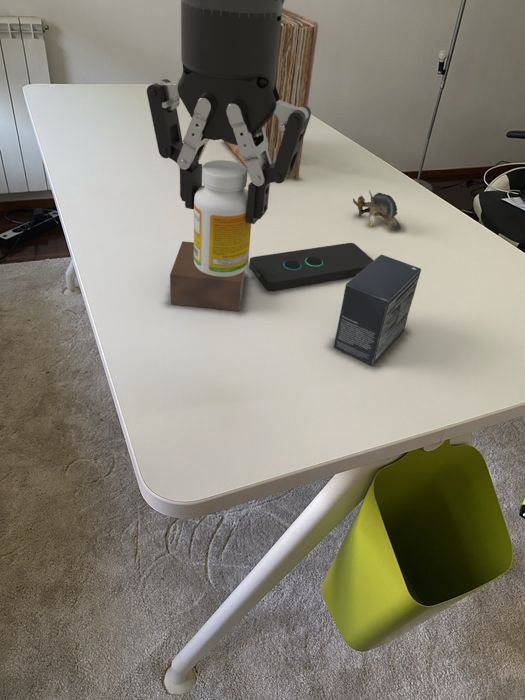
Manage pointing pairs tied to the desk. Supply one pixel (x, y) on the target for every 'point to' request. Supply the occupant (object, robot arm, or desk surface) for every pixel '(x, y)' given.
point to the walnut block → (202, 284)
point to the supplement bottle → (221, 220)
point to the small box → (375, 308)
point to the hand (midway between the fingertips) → (223, 212)
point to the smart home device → (309, 266)
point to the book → (290, 76)
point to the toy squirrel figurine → (379, 209)
